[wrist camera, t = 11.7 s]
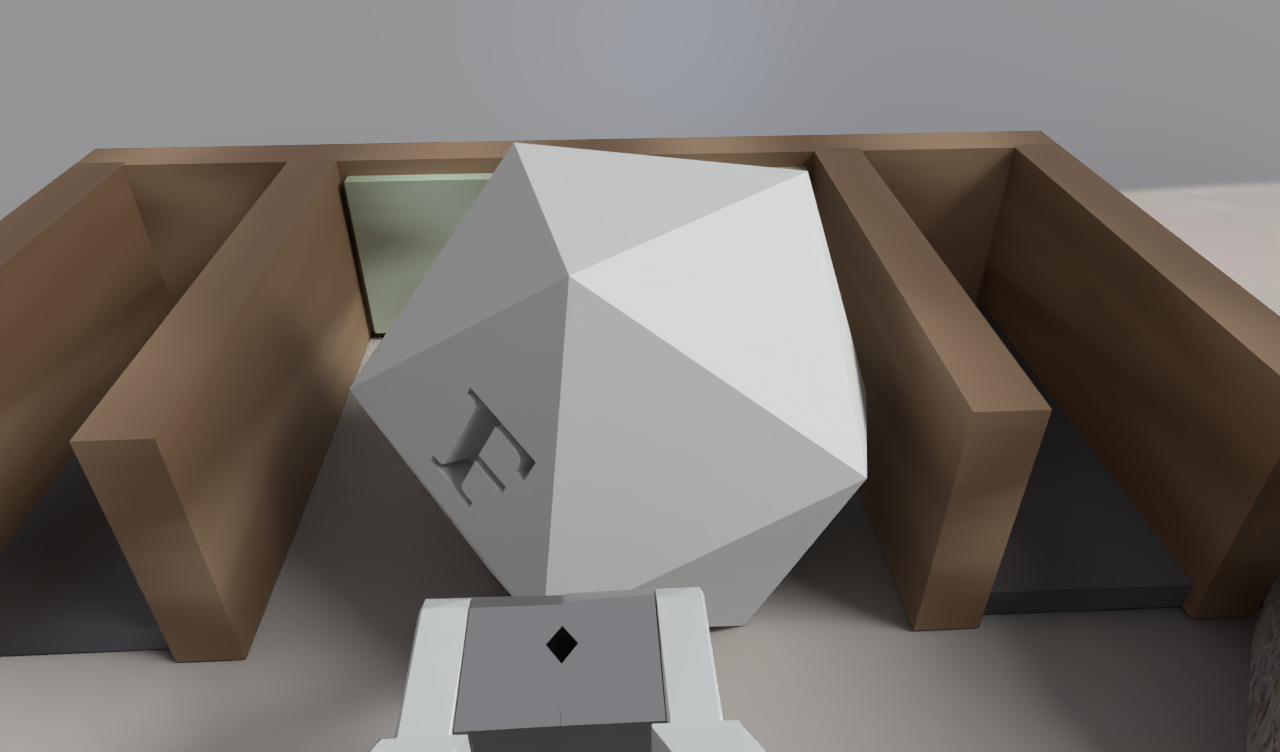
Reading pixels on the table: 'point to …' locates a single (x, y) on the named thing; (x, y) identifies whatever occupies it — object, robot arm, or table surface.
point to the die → (630, 377)
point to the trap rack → (837, 164)
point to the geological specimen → (1265, 677)
